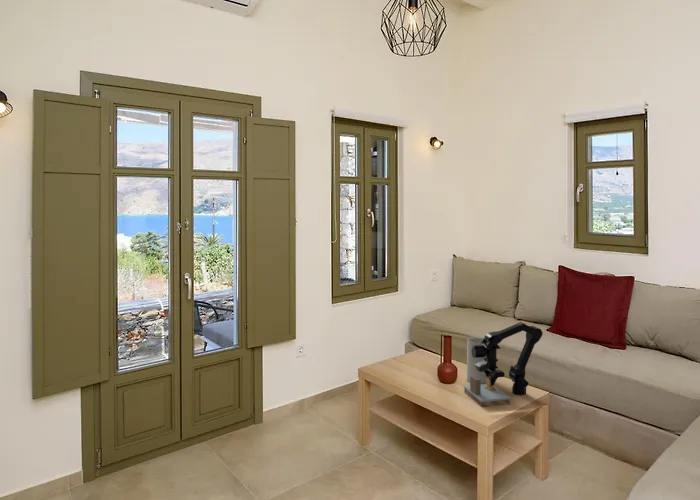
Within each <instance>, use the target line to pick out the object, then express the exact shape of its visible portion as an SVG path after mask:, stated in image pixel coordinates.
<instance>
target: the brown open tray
mask: <svg viewBox="0 0 700 500" xmlns="http://www.w3.org/2000/svg"><path fill="white" fill-rule="evenodd" d="M463 388H464V387H463ZM463 390H464V394H466V395H467V396H468V397H470V399H471V400H473V401H474V402H475V403H476V404H477V405H478V406H479V407H481V408H483V407H493V406H504V405H505V406H506V405H510V403H511V401H510V400H511V398H510V399H508V400H498V401H488V402H481V401H479V400H478V399H477V398H476V397H475V396H473V395H472V394H471V393H470V392H469V391H467V390H466V389H465V388H464V389H463Z"/></svg>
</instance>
